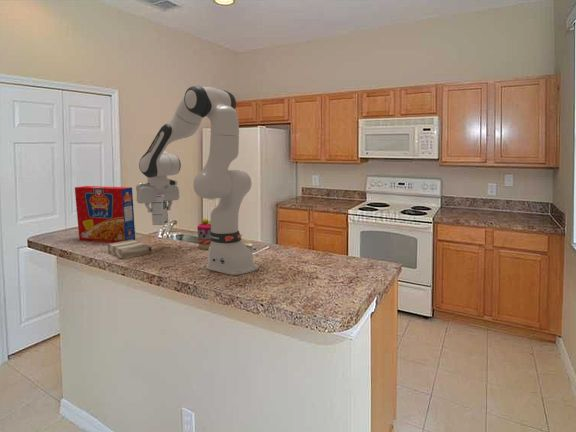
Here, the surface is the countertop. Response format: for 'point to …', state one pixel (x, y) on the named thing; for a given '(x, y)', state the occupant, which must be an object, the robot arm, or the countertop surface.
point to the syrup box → (159, 210)
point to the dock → (128, 249)
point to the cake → (204, 234)
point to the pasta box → (105, 214)
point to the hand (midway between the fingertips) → (159, 211)
